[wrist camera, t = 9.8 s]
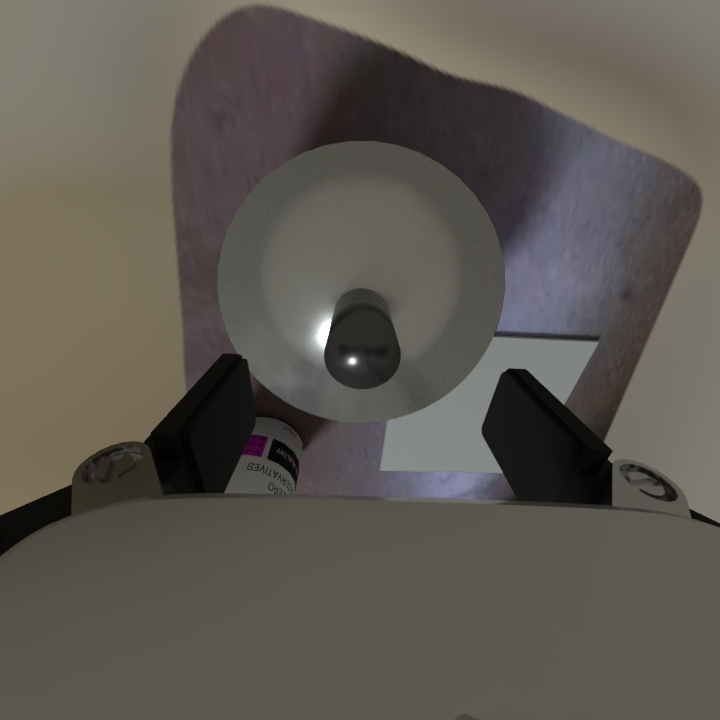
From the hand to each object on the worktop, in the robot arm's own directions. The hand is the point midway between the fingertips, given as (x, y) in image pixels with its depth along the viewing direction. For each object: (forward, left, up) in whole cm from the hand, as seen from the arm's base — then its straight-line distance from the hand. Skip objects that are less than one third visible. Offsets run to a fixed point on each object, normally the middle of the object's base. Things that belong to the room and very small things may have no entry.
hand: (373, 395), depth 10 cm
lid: (+1, 0, -8) cm, 8 cm away
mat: (-12, -13, -14) cm, 23 cm away
